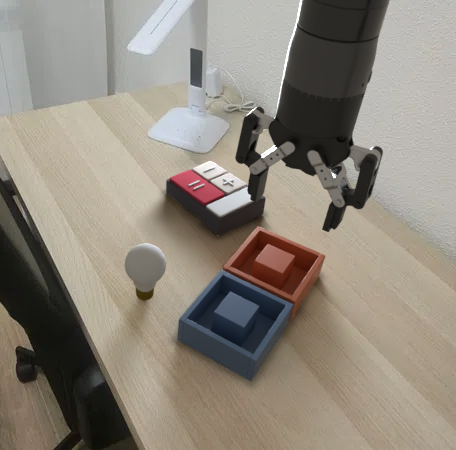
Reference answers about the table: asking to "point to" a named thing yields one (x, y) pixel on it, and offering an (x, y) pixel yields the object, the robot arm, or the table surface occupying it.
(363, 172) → the robot arm
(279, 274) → the terracotta block
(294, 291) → the terracotta bin
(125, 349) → the table surface
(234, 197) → the calculator
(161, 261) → the light bulb
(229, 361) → the blue bin
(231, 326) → the blue block
